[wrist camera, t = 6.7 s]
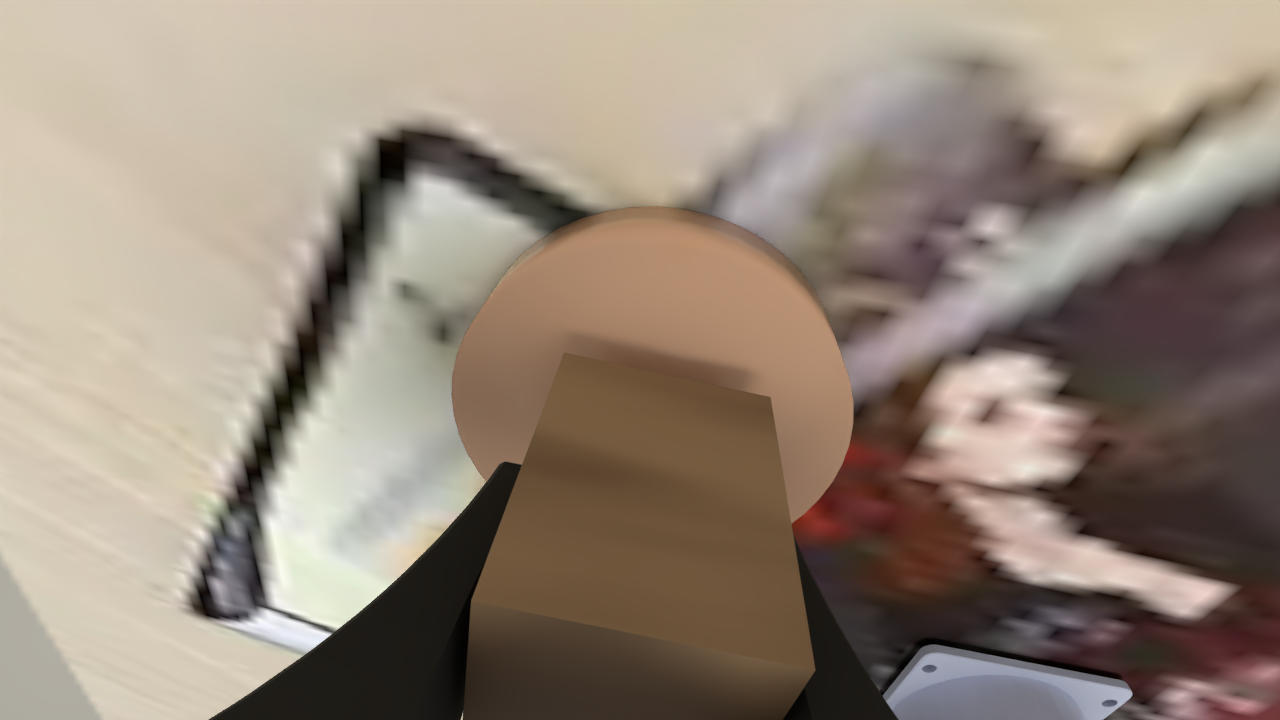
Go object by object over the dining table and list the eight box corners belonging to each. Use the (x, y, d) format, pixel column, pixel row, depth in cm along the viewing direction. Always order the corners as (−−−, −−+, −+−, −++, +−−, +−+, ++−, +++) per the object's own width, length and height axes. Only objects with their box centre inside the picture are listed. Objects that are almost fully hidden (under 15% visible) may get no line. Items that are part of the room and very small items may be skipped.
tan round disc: (778, 521, 20) (786, 585, 18) (482, 469, 20) (456, 527, 18) (891, 242, 14) (923, 288, 12) (483, 169, 14) (444, 203, 12)
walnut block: (714, 535, 15) (721, 812, 10) (541, 499, 15) (459, 761, 10) (770, 396, 13) (815, 669, 8) (563, 352, 13) (471, 600, 8)
